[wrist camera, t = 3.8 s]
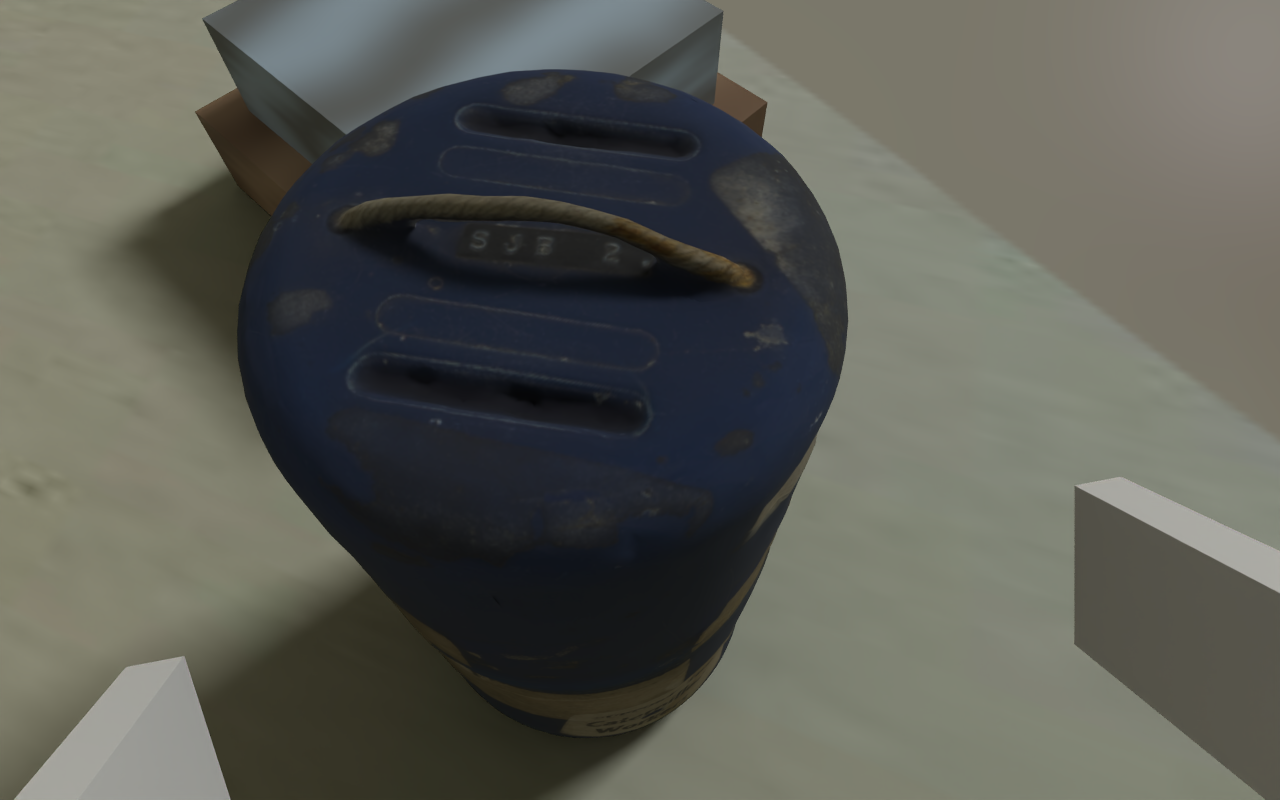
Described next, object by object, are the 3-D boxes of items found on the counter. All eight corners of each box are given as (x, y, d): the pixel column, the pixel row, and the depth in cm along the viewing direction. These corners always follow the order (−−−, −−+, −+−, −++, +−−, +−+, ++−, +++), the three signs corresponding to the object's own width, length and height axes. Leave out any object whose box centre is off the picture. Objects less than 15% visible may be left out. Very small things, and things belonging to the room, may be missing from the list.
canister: (533, 420, 30) (418, -77, 14) (780, 520, 28) (960, 71, 12) (389, 666, 25) (-10, 338, 10) (669, 806, 23) (732, 674, 8)
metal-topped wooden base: (238, 185, 36) (141, 19, 29) (511, 19, 41) (485, -153, 34) (478, 404, 30) (431, 264, 23) (754, 176, 36) (782, 10, 29)
